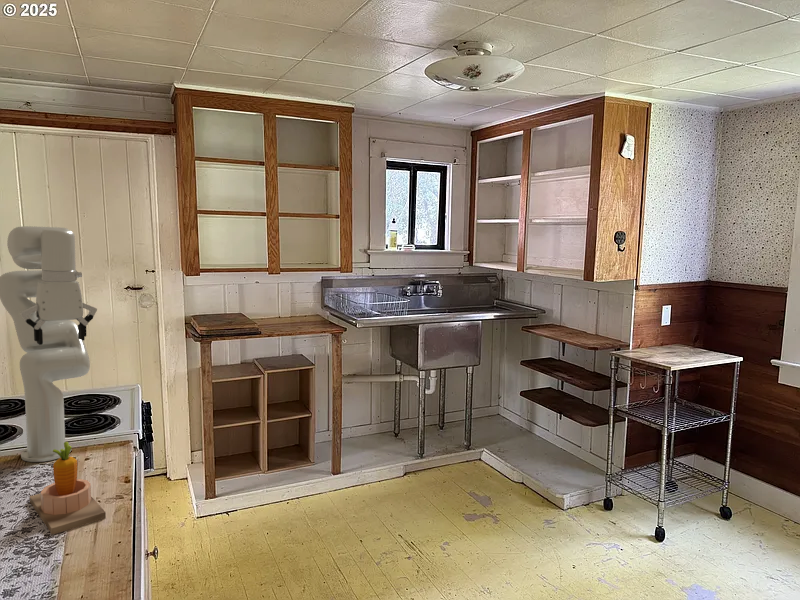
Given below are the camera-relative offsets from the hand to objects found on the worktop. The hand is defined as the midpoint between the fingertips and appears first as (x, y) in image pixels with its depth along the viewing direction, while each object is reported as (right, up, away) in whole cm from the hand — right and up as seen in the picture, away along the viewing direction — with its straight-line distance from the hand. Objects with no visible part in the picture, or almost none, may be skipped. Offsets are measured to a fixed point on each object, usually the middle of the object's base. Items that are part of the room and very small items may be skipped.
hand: (61, 341), depth 146 cm
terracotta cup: (+9, -38, -13) cm, 41 cm away
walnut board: (+9, -40, -12) cm, 43 cm away
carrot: (+9, -38, -13) cm, 41 cm away
